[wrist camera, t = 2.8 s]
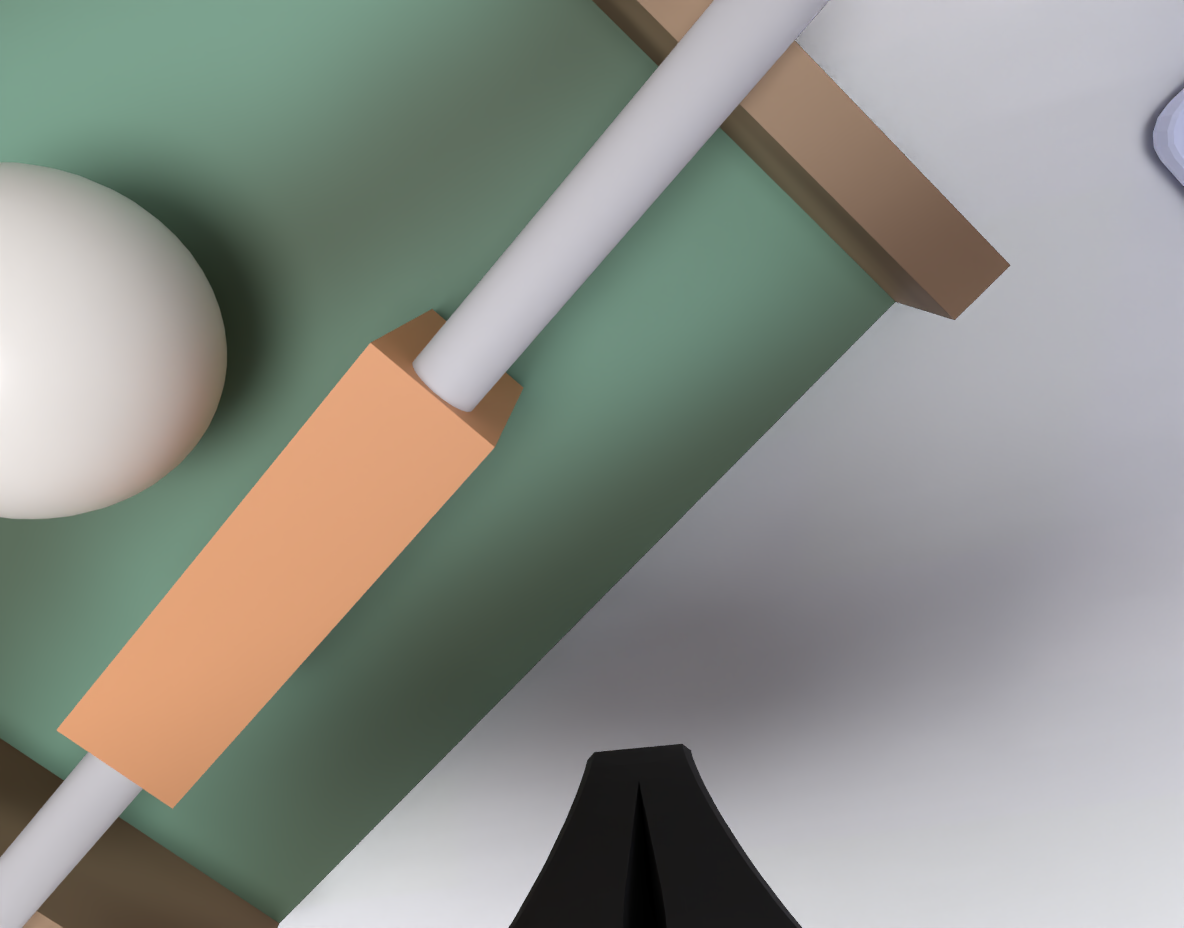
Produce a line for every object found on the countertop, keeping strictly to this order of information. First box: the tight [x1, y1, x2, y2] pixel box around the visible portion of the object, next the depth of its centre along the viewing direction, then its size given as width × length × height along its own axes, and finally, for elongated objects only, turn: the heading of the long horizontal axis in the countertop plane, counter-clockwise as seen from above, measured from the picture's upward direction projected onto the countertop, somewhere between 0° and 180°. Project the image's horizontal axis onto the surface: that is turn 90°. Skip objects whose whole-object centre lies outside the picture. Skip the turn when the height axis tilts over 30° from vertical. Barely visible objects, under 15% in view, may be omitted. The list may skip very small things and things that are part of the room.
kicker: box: [0, 0, 829, 928], centre depth 10 cm, size 2×20×3 cm, turn 138°
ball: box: [0, 162, 227, 519], centre depth 10 cm, size 4×4×4 cm
